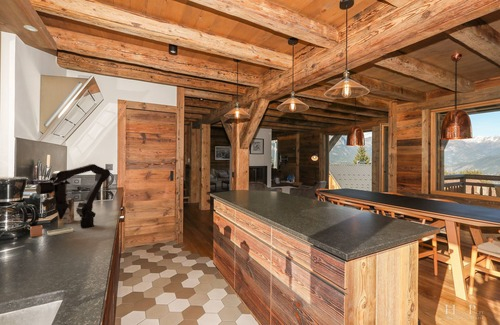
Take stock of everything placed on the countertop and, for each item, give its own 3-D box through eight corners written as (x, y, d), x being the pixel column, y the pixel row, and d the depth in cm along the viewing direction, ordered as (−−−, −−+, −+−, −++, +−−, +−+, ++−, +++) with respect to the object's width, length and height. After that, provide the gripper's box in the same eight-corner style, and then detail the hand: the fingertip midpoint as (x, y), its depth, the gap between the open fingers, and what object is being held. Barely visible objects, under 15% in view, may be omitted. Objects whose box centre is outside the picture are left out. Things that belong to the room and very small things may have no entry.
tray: (72, 229, 147) (72, 227, 147) (74, 232, 141) (74, 230, 141) (46, 233, 139) (46, 231, 139) (47, 237, 133) (47, 234, 133)
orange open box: (42, 233, 138) (41, 225, 138) (42, 235, 135) (42, 227, 135) (30, 235, 135) (30, 226, 135) (30, 237, 131) (30, 228, 131)
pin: (63, 226, 142) (62, 211, 141) (63, 227, 140) (63, 211, 140) (57, 227, 140) (57, 211, 140) (58, 227, 138) (58, 212, 138)
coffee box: (71, 223, 160) (70, 199, 160) (59, 224, 158) (58, 200, 157) (74, 220, 169) (74, 197, 168) (63, 221, 166) (62, 198, 166)
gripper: (40, 192, 141) (41, 218, 141) (42, 195, 127) (43, 224, 128) (64, 190, 148) (65, 215, 149) (68, 193, 135) (69, 220, 135)
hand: (60, 218), depth 140 cm, fingers closed on pin, 2 cm apart
